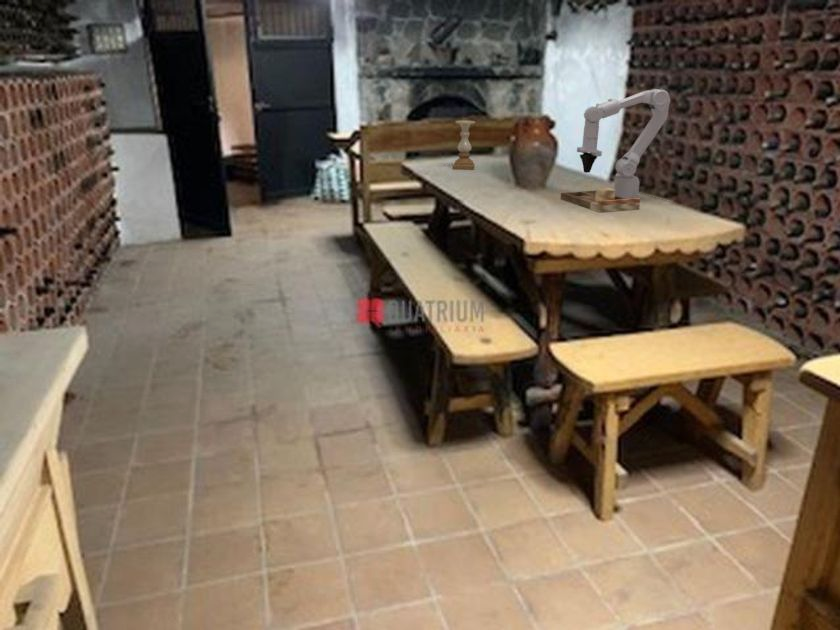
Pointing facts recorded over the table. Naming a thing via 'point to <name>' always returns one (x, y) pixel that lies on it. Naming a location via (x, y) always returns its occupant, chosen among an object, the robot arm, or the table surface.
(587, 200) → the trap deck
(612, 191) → the beech block
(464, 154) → the candle holder
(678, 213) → the table surface
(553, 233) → the table surface
